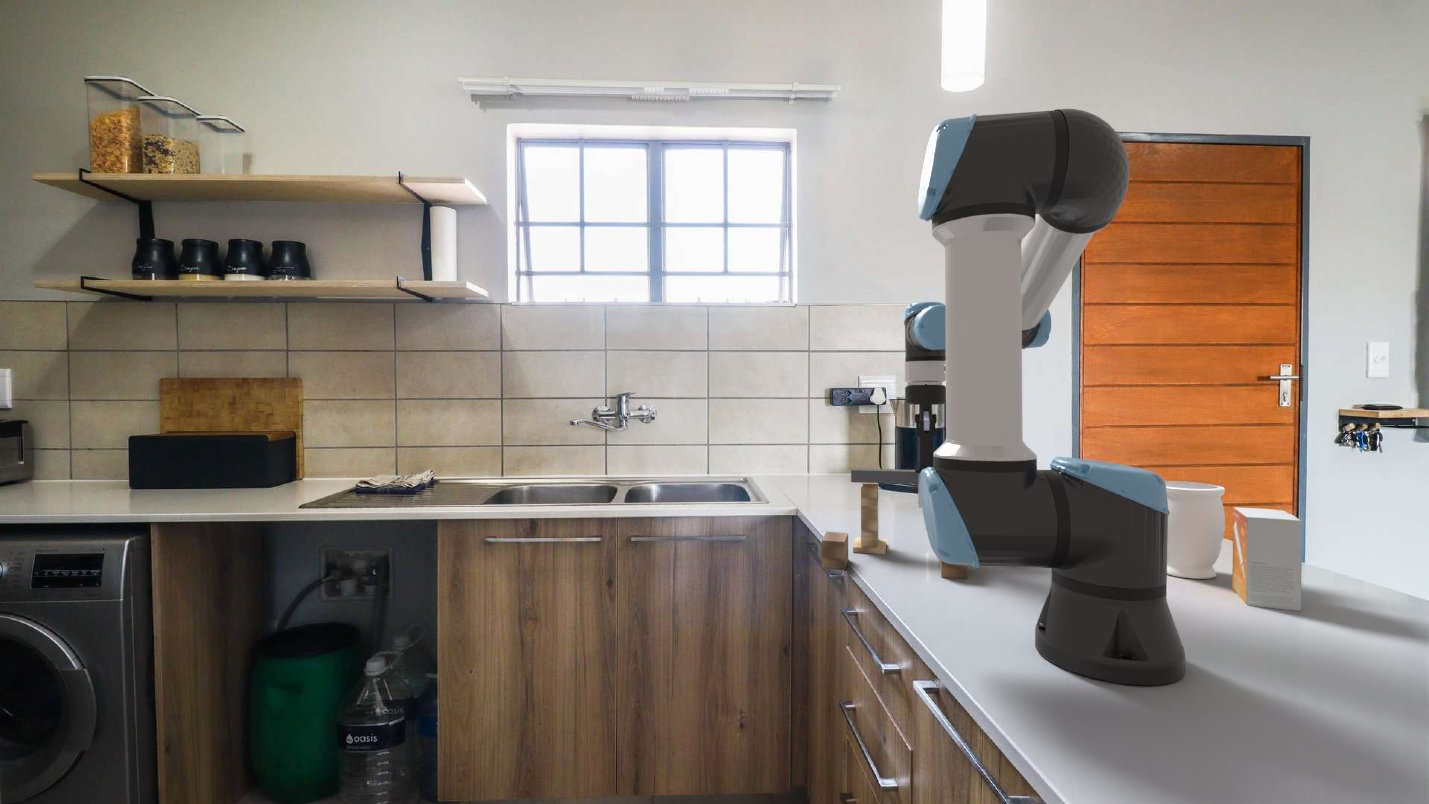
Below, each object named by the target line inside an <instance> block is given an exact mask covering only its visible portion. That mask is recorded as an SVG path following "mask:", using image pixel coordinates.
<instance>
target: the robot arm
mask: <svg viewBox="0 0 1429 804" xmlns="http://www.w3.org/2000/svg"><path fill="white" fill-rule="evenodd" d="M926 147H927V148H926V151H925V156H924V161H923V166H922V172H921V178H920V184H919V191H918V203H917V205H918V207H917V208H918V212H917V213H918V218H919V219H920V220H924V221H925V222H930V221H931V235H932V237H933V238H934V239H935V240H936V241H937V242H939V243H940V245H942V246H943V248H944V279H945V280H944V281H945V282H944V286H945V292H944V293H945V294H944V295H945V296H944V298H945V299H944V301H945V303H941V302H940V301H922V302H920V301H919V302H914V303H909V304H908V305H907V306H906V307H905V310H904V312H905V313H904V320H903V325H904V351H905V356H904V357H905V359H904V360H905V361H904V382H905V383H907V385H905V387H904V401H905V404H906V405H913V406H915V405H918V413H915V414H914V423H915V432H916V433H915V434H916V437H917V438H918V440H917V443H918V446H917V447H918V451H917V452H918V453H917V455H918V460H917V464H918V466H917V468H918V469H914V470H915V473H919V484H917V490H918V491H917V492H918V493H917V496H918V497H917V499H918V500H917V504H918V508H921V509H922V515H923V519H924V524H925V525H924V526H925V529H926V533H927V539H928V541H929V545H930V547H931V548H932V551H933V553H934V554H935V556H936V557H937V559H938V560H939V559H940V560H941V561H943V562H945V563H948V564H958V565H967V566H971V567H973V568H980V567H996V568H997V567H999V568H1027V569H1028V568H1033V569H1035V568H1036V569H1037V568H1038V569H1051V577H1050V578H1051V582H1050V584H1051V585H1050V587H1049V590H1048V593H1047V595H1046V598H1045V601H1044V603H1043V606H1042V608H1041V611H1040V614H1039V615H1038V619H1037V622H1036V624H1035V629H1034V631H1035V632H1034V637H1035V639H1034V641H1035V642H1034V646H1035V649H1036V650H1037V652H1038V654H1039V655H1040V656H1042V657H1043V658H1045V660H1048V661H1049V662H1050V663H1052V664H1054V665H1056V666H1058V667H1060V668H1063V669H1064V670H1067V671H1069V672H1073V673H1076V674H1079V675H1082V676H1085V677H1089V678H1093V679H1097V680H1102V681H1106V682H1111V683H1117V684H1124V685H1133V686H1136V685H1137V686H1158V685H1161V686H1162V685H1166V684H1167V685H1168V684H1171V683H1174V682H1177V681H1180V680H1182V678H1183V677H1184V676H1185V675H1186V674H1185V673H1186V653H1185V648H1184V646H1183V643H1182V640H1181V637H1180V635H1179V632H1178V628H1177V626H1176V624H1175V621H1174V618H1173V616H1172V613H1171V609H1170V607H1169V605H1168V596H1167V593H1168V592H1167V581H1168V579H1167V578H1168V574H1167V537H1168V515H1169V513H1170V512H1169V510H1168V501H1167V491H1166V484H1165V482H1164V481H1165V480H1164V479H1163V478H1162V476H1160V475H1159V474H1158V473H1156V472H1154V471H1151V470H1148V469H1144V468H1141V467H1140V468H1139V467H1135V466H1130V465H1124V464H1118V463H1113V462H1107V461H1099V460H1093V459H1086V458H1085V459H1084V458H1077V457H1076V458H1075V457H1070V456H1069V457H1068V456H1067V457H1066V456H1065V457H1063V456H1056V457H1054V458H1053V459H1052V461H1051V463H1050V464H1049V467H1050V469H1038V456H1037V454H1036V453H1035V452H1034V450H1032V449H1031V448H1030V447H1028V445H1027V444H1026V443H1025V441H1024V440H1023V350H1026V349H1032V348H1033V349H1034V348H1035V349H1036V348H1041V347H1043V346H1045V344H1047V343H1048V341H1049V338H1050V334H1051V330H1052V315H1051V312H1050V309H1049V308H1050V306H1052V303H1053V301H1054V300H1055V298H1056V297H1057V295H1058V293H1059V292H1060V290H1061V288H1062V286H1063V285H1064V283H1065V282H1066V280H1067V279H1068V277H1069V275H1070V273H1071V272H1072V270H1073V269H1074V267H1075V265H1076V264H1077V262H1078V261H1079V259H1080V258H1081V255H1082V254H1083V252H1084V251H1085V249H1086V247H1087V246H1088V244H1089V242H1090V241H1091V239H1092V237H1093V236H1094V234H1095V233H1098V232H1099V231H1102V230H1104V229H1105V228H1106V227H1107V226H1109V225H1110V223H1111V222H1112V221H1113V220H1114V218H1115V216H1116V214H1117V212H1119V210H1120V208H1121V207H1122V206H1123V202H1124V200H1125V197H1126V195H1127V193H1128V188H1129V182H1130V175H1131V174H1130V173H1131V170H1130V161H1129V155H1128V152H1127V149H1126V147H1125V145H1124V142H1123V141H1122V139H1121V137H1120V135H1119V134H1118V132H1117V131H1116V130H1115V129H1114V128H1113V127H1112V126H1111V125H1110V124H1109V123H1108V122H1107V121H1106V120H1104V119H1102V118H1101V117H1100V116H1098V115H1095V114H1093V113H1090V112H1088V111H1087V110H1082V109H1076V108H1058V109H1054V110H1042V111H1040V110H1039V111H1026V112H1013V113H1012V112H1010V113H997V114H983V115H982V114H981V115H978V114H977V113H974V114H972V115H969V116H963V117H956V118H947V119H944V120H943V121H941V122H939V123H938V124H936V126H935V127H934V129H933V130H932V132H931V135H930V137H929V140H928V144H927V146H926ZM1024 238H1025V239H1024ZM1023 239H1024V242H1023V244H1022V241H1023ZM943 383H945V385H944V384H943ZM933 405H945V429H946V430H945V440H944V441H943V443H942V444H941V445H940V446H939V447H938V448H937V449H936V450H934V446H935V445H934V442H935V441H934V439H935V437H936V423H937V421H938V418H937V414H936V413H933Z"/></svg>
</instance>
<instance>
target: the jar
mask: <svg viewBox="0 0 1429 804" xmlns="http://www.w3.org/2000/svg"><path fill="white" fill-rule="evenodd" d="M1164 482H1165V484H1166V491H1167V501H1168V510H1169V512H1170V513H1169V515H1168V537H1167V576H1168V575H1169V576H1174V577H1178V578H1185V579H1193V580H1194V579H1195V580H1208V579H1213V578H1215V577H1216V576H1217V572H1216V570H1215V568H1214V567H1213V566H1214V565H1215V563H1216V562H1217V561H1218V558H1220V557H1219V556H1220V554H1221V551H1222V543H1223V540H1224V536H1225V529H1226V514H1225V509H1224V505H1223V501H1222V499H1221V498H1222V496H1224V495H1225V493H1226V490H1225V487H1223V486H1221V485H1215V484H1210V483H1206V482H1205V483H1203V482H1196V481H1181V480H1164Z"/></svg>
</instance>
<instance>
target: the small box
mask: <svg viewBox="0 0 1429 804" xmlns="http://www.w3.org/2000/svg"><path fill="white" fill-rule="evenodd" d="M1302 544H1303V521H1302V520H1301V519H1300V518H1298V517H1296V516H1295V515H1293V514H1291V513H1289V512H1287V511H1285V510H1283V509H1271V508H1258V507H1257V508H1255V507H1238V506H1236V507H1235V506H1234V507H1232V568H1231V569H1232V572H1231V573H1232V575H1231V576H1232V577H1231V578H1232V579H1231V584H1232V585H1231V586H1232V587H1231V588H1232V590H1234V592H1235V593H1236V594H1237V595H1238V596H1239V597H1240V598H1241V600H1242V601H1243V602H1244V604H1245V605H1247V606H1251V607H1252V606H1253V607H1261V608H1271V609H1279V610H1286V611H1295V612H1296V611H1298V612H1300V611H1301V612H1302V572H1303V571H1302V567H1303V565H1302V563H1303V561H1302V559H1303V558H1302V556H1303V555H1302V554H1303V552H1302V551H1303V550H1302V549H1303V548H1302V547H1303V546H1302Z"/></svg>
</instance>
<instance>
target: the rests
mask: <svg viewBox="0 0 1429 804" xmlns="http://www.w3.org/2000/svg"><path fill="white" fill-rule="evenodd" d="M938 561H939V563H938V564H939V571H940V577H941V578H947V579H948V578H949V579H962V580H963V579H964V580H967V579H968V565H958V564H948V563H945V562H943V561H941V560H940V559H939V558H938ZM848 562H849V532H840V531H838V532H836V531H826V532H825V533H824V536H823V537H822V539H821V569H824V570H839V571H845V570H846V568H847V564H848Z"/></svg>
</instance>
